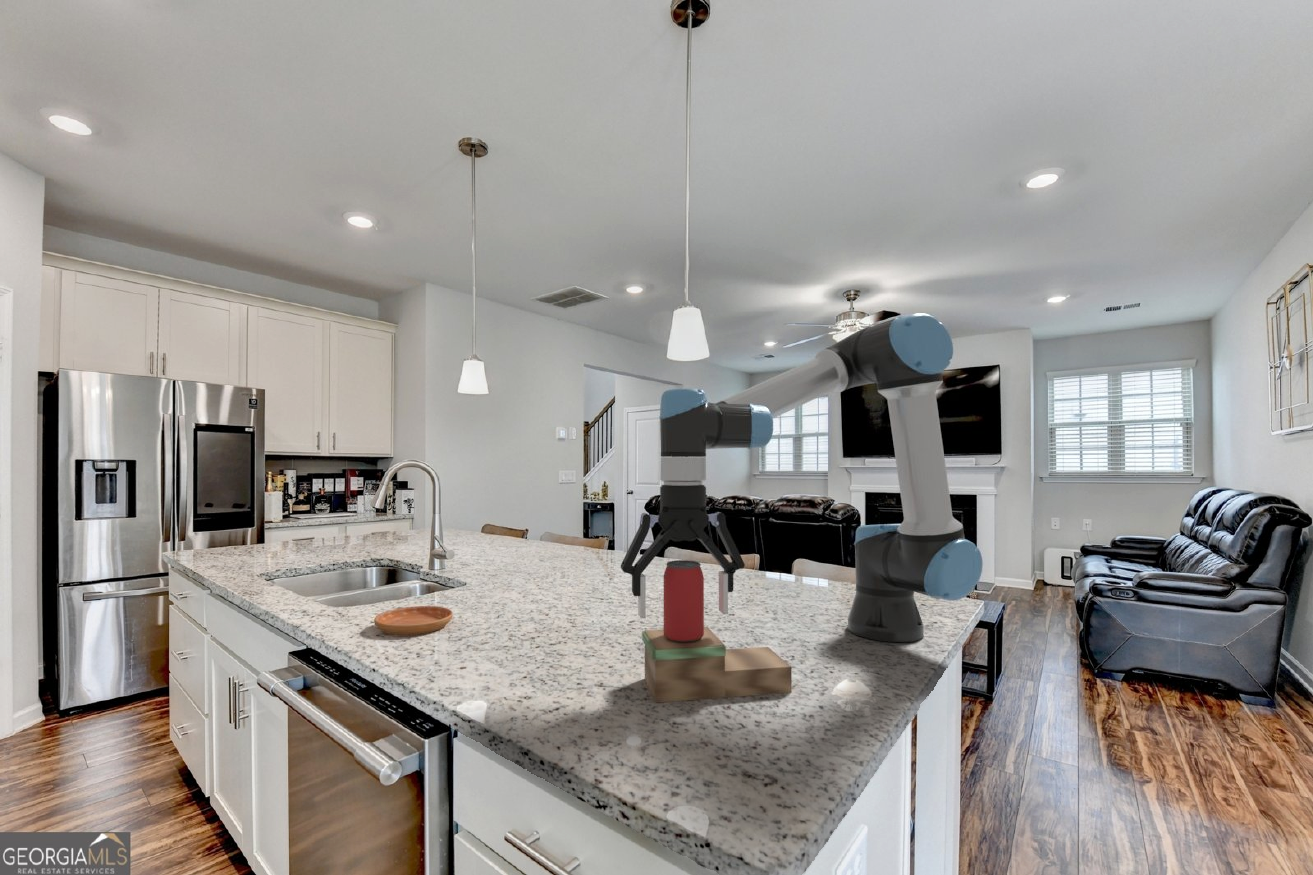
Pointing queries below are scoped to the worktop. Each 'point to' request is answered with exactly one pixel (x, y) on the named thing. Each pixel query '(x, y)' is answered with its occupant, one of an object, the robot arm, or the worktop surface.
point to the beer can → (683, 601)
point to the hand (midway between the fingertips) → (683, 614)
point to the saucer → (413, 620)
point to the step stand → (710, 669)
